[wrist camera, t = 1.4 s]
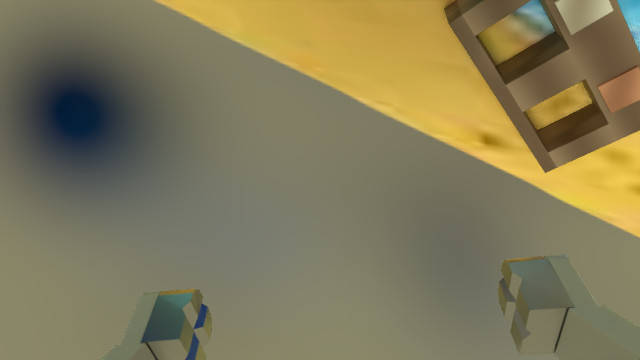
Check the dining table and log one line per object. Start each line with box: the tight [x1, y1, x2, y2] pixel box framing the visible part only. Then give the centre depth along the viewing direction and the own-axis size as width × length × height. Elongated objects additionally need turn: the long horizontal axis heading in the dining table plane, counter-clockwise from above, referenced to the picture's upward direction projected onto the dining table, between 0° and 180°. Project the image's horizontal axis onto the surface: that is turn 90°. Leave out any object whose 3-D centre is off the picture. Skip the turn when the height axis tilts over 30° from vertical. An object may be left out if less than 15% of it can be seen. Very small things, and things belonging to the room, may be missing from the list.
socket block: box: [444, 0, 640, 173], centre depth 40 cm, size 11×19×4 cm, turn 40°
